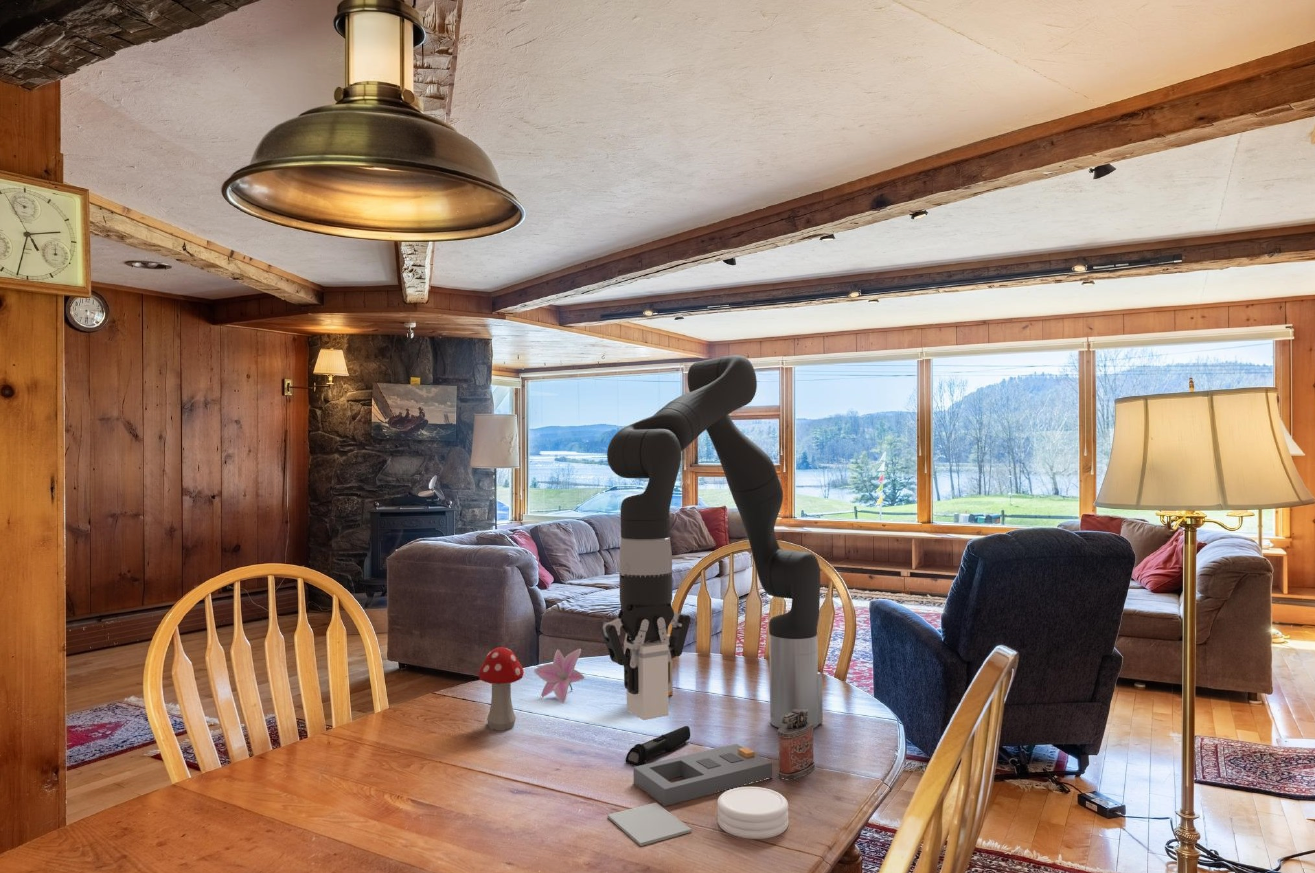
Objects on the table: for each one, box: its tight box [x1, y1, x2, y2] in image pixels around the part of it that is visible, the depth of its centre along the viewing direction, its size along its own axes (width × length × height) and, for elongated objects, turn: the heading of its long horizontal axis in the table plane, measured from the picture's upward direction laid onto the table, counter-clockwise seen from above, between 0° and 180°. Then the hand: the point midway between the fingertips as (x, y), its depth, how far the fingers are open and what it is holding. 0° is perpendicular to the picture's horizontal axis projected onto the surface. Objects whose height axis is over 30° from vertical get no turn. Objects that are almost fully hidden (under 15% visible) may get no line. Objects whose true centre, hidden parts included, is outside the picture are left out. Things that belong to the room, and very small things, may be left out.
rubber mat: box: [607, 802, 692, 847], centre depth 114 cm, size 8×10×1 cm
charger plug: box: [626, 640, 670, 721], centre depth 115 cm, size 4×5×10 cm
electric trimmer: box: [624, 725, 691, 767], centre depth 143 cm, size 4×16×3 cm, turn 140°
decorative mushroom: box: [478, 646, 525, 731], centre depth 158 cm, size 10×9×15 cm
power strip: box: [633, 743, 773, 807], centre depth 130 cm, size 20×10×3 cm, turn 120°
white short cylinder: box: [716, 786, 789, 840], centre depth 115 cm, size 10×10×4 cm
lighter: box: [777, 709, 816, 781], centre depth 133 cm, size 8×3×10 cm, turn 134°
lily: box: [533, 648, 585, 704], centre depth 177 cm, size 12×12×10 cm
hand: (647, 689), depth 115 cm, fingers closed on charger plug, 4 cm apart
